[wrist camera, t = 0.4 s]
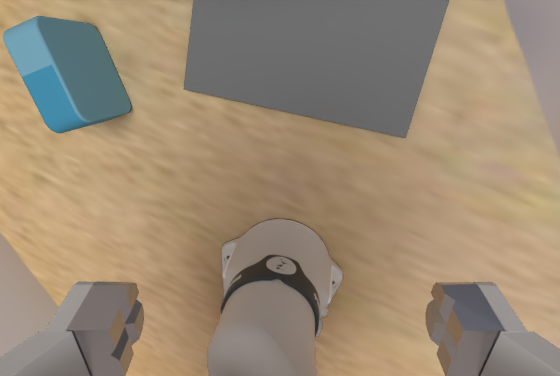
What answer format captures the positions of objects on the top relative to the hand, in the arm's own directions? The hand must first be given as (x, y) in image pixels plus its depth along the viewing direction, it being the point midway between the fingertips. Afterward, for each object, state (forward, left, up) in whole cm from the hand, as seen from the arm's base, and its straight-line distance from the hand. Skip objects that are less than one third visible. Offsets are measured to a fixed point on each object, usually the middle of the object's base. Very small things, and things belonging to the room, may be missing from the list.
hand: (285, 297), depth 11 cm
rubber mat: (+7, +3, -43) cm, 43 cm away
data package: (-2, +30, -43) cm, 52 cm away
